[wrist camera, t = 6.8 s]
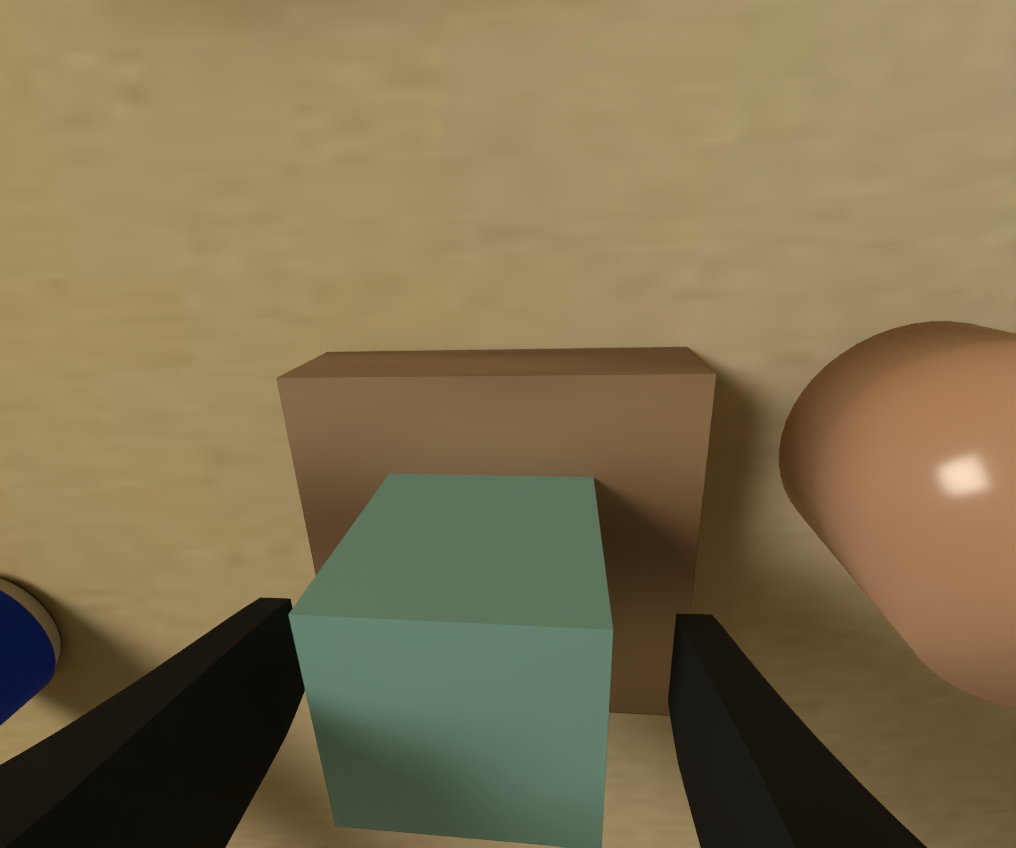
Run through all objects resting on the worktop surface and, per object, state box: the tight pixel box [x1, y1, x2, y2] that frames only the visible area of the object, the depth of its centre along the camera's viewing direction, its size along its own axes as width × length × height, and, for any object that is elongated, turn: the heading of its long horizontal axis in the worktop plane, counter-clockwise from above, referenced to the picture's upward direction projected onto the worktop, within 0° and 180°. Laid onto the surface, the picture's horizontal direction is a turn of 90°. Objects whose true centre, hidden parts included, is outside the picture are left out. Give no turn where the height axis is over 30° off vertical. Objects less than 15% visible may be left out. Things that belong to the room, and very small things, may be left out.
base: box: [276, 347, 716, 716], centre depth 13 cm, size 9×9×2 cm
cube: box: [288, 474, 613, 848], centre depth 10 cm, size 4×4×4 cm
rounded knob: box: [779, 321, 1016, 708], centre depth 10 cm, size 6×6×5 cm
